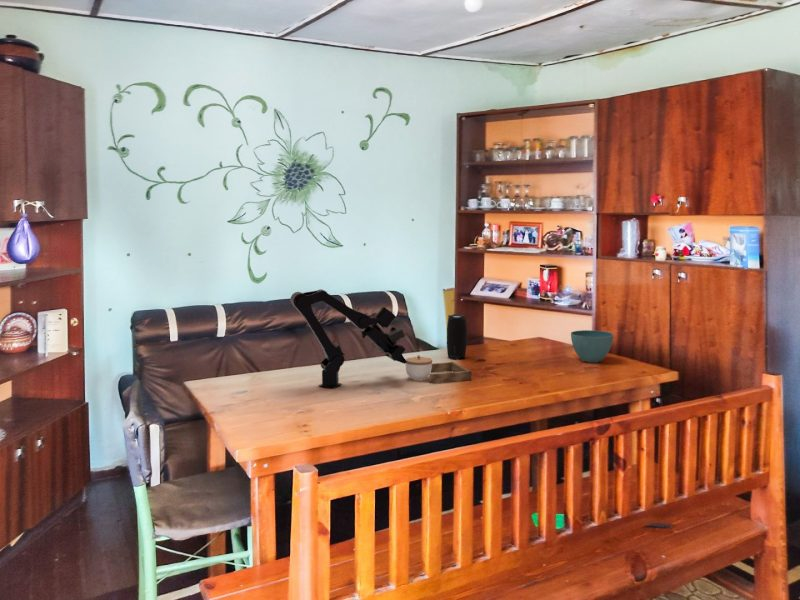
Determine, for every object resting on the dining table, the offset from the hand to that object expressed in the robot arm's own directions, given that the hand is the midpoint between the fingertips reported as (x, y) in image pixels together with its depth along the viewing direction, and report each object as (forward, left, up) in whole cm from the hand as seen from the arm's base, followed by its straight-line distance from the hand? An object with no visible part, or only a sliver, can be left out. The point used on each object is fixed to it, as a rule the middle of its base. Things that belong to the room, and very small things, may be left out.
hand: (405, 362), depth 282 cm
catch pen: (+11, -10, -7) cm, 17 cm away
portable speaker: (+47, -1, -7) cm, 48 cm away
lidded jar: (+4, -4, -7) cm, 9 cm away
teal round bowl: (+71, -55, -7) cm, 90 cm away
